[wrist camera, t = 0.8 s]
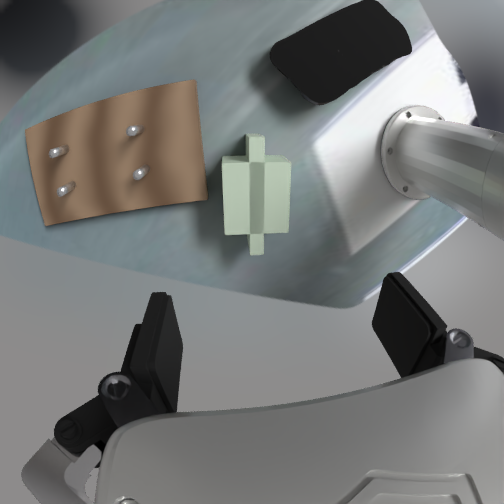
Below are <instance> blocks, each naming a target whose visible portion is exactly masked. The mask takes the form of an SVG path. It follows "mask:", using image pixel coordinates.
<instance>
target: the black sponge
mask: <svg viewBox="0 0 504 504" xmlns="http://www.w3.org/2000/svg"><path fill="white" fill-rule="evenodd" d="M411 52H412V46H411V42H410V39H409V36H408V34H407V31H406V29H405V28H404V26H403V25H402V24H401V23H400V22H399V21H398V20H397V19H396V18H394V17H393V16H392V15H391V14H390V13H389V12H388V11H387V10H386V9H385V8H384V7H383V6H382V5H381V4H380V3H379V2H378V1H376V0H362V1H360V2H357V3H355V4H352V5H350V6H348V7H345V8H343V9H341V10H339V11H337V12H335V13H333V14H330V15H328V16H326V17H324V18H322V19H320V20H318V21H317V22H315V23H313V24H311V25H309V26H307V27H305V28H303V29H302V30H300V31H298V32H296V33H295V34H293V35H291V36H289V37H287V38H285V39H282V40H280V41H278V42H276V43H275V44H274V46H273V47H272V50H271V52H270V58H271V61H272V63H273V64H274V66H276V67H277V68H278V69H279V70H280V71H281V72H282V73H283V74H284V75H285V76H286V77H287V78H289V79H290V80H291V81H292V83H293V84H294V85H295V86H296V87H297V88H298V89H299V91H300V92H301V94H302V96H303V97H304V98H305V99H306V100H308V101H309V102H311V103H313V104H316V105H324V104H327V103H329V102H331V101H333V100H335V99H337V98H338V97H340V96H341V95H343V94H344V93H345V92H347V91H348V90H349V89H351V88H353V87H354V86H356V85H357V84H359V83H360V82H361V81H362V80H364V79H365V78H367V77H369V76H370V75H371V74H373V73H375V72H376V71H378V70H380V69H381V68H383V67H384V66H387V65H389V64H390V63H391V62H393V61H394V60H396V59H398V58H400V57H402V56H406V55H409V54H410V53H411Z"/></svg>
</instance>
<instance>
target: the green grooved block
mask: <svg viewBox="0 0 504 504" xmlns="http://www.w3.org/2000/svg"><path fill="white" fill-rule="evenodd" d="M222 180H223V205H224V227H225V235H240V234H247V239H248V245H249V251H250V255H264V234H265V233H288V229H289V208H290V182H291V162H290V161H289V160H287V159H286V158H285V157H283V156H282V155H265V137H264V136H262V135H260V134H246V155H243V156H223V158H222Z"/></svg>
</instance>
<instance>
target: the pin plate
mask: <svg viewBox="0 0 504 504" xmlns="http://www.w3.org/2000/svg"><path fill="white" fill-rule="evenodd" d="M25 135H26V142H27V149H28V155H29V160H30V166H31V171H32V176H33V180H34V185H35V189H36V193H37V197H38V201H39V205H40V209H41V213H42V216H43V219H44V223H45V226H48V225H53V224H58V223H63V222H68V221H73V220H78V219H83V218H88V217H94V216H99V215H105V214H111V213H116V212H123V211H129V210H135V209H141V208H148V207H155V206H162V205H169V204H177V203H184V202H192V201H201V200H208V188H207V180H206V172H205V163H204V155H203V145H202V136H201V126H200V116H199V106H198V95H197V83H196V80H189V81H182V82H176V83H171V84H165V85H160V86H155V87H150V88H146V89H142V90H137V91H133V92H129V93H125V94H121V95H118V96H114V97H111V98H107V99H104V100H101V101H97V102H94V103H91V104H88V105H85V106H82V107H79V108H76V109H74V110H71V111H68V112H66V113H63V114H60V115H58V116H55V117H53V118H50V119H48V120H46V121H43V122H41V123H39V124H37V125H34V126H32V127H30V128H28V129H26V130H25Z"/></svg>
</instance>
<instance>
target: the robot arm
mask: <svg viewBox="0 0 504 504" xmlns="http://www.w3.org/2000/svg"><path fill="white" fill-rule="evenodd" d="M387 150H388V151H387ZM381 157H382V164H383V168H384V171H385V174H386V176H387V178H388V180H389V182H390V183H391V185H392V186H393V187H394V188H395V189H396V190H397V191H398V192H400V193H401V194H403V195H405V196H407V197H409V198H412V199H416V200H419V199H426V198H430V197H433V198H435V199H437V200H438V201H440V202H442V203H444V204H446V205H447V206H449V207H451V208H452V209H454V210H456V211H457V212H459V213H461V214H462V215H464V216H466V217H467V218H469V219H471V220H472V221H474V222H475V223H477V224H478V225H480V226H481V227H483V228H485V229H486V230H488V231H489V232H491V233H492V234H494V235H495V236H497V237H498V238H500V239H502V240H503V241H504V134H503V133H499V132H495V131H492V130H488V129H484V128H480V127H475V126H470V125H466V124H461V123H455V122H450V121H445V119H444V118H443V117H442V116H441V115H440V114H439V113H438V112H437V111H435V110H433V109H432V108H429V107H426V106H420V105H413V106H408V107H405V108H403V109H401V110H400V111H398V112H397V113H396V114H395V115H394V116H393V117H392V118H391V120H390V121H389V123H388V124H387V126H386V129H385V131H384V134H383V139H382V145H381ZM372 327H373V330H374V331H375V333H376V335H377V336H378V338H379V340H380V341H381V343H382V345H383V346H384V348H385V350H386V352H387V353H388V355H389V357H390V358H391V360H392V362H393V364H394V366H395V367H396V369H397V371H398V373H399V374H400V376H401V378H400V379H397V380H394V381H390V382H387V383H383V384H380V385H376V386H372V387H368V388H364V389H361V390H356V391H352V392H348V393H343V394H338V395H334V396H329V397H324V398H318V399H313V400H307V401H301V402H294V403H288V404H281V405H273V406H264V407H255V408H243V409H231V410H216V411H196V412H195V411H194V412H177V402H178V391H179V381H180V370H181V361H182V352H183V343H182V338H181V335H180V331H179V327H178V323H177V319H176V314H175V310H174V306H173V302H172V298H171V296H170V295H167V294H166V292H156V293H155V292H153V293H152V294H151V297H150V300H149V303H148V306H147V309H146V312H145V315H144V319H143V322H142V324H136V325H135V327H134V329H133V332H132V336H131V339H130V342H129V345H128V348H127V351H126V355H125V358H124V362H123V365H122V368H121V372H113V373H110V374H108V375H106V376H105V377H103V379H102V380H101V381H100V383H99V385H98V394H99V395H98V396H96V397H95V398H93V399H92V400H90V401H88V402H87V403H85V404H84V405H82V406H80V407H79V408H77V409H76V410H74V411H72V412H70V413H69V414H67V415H66V416H64V417H62V418H61V419H60V420H59V421H58V422H57V424H56V425H55V429H54V436H55V437H54V438H53V439H52V440H50V439H48V440H47V441H46V442H45V443H44V444H43V445H42V447H41V448H40V449H39V450H38V451H37V452H36V453H35V454H34V456H33V457H32V458H31V459H30V460H29V461H28V462H27V463H26V464H25V466H24V467H23V469H22V473H21V476H22V481H23V483H24V484H25V486H26V487H27V488H28V489H29V490H30V492H31V493H32V494H33V495H34V496H35V498H36V499H37V500H38V501H39V502H40V503H41V504H504V358H502V357H501V356H499V355H496V354H493V353H490V352H488V351H485V350H482V349H479V348H476V347H474V342H473V339H472V337H471V336H470V335H469V334H468V333H467V332H466V331H464V330H462V329H457V328H455V329H451V330H449V331H448V333H447V331H446V328H447V325H446V324H445V323H444V321H443V320H442V319H441V318H440V317H439V315H438V314H437V313H436V312H435V311H434V309H433V308H432V307H431V306H430V305H429V304H428V303H427V301H426V300H425V299H424V298H423V297H422V296H421V295H420V293H419V292H418V291H417V290H416V289H415V288H414V287H413V286H412V284H411V283H410V282H409V281H408V280H407V279H406V278H405V277H404V276H403V275H402V274H401V273H400V272H394V273H388V274H387V276H386V277H385V278H384V279H383V283H382V287H381V291H380V295H379V299H378V302H377V306H376V310H375V313H374V317H373V320H372ZM176 412H177V413H176ZM99 467H100V468H99ZM93 468H99V473H98V479H97V486H96V494H95V503H94V502H93V501H92V500H90V498H89V497H88V496H87V495H86V492H85V484H86V482H87V480H88V478H89V477H90V476H91V475H90V474H89V473H90V472H91V471H92V470H93ZM134 500H136V501H134Z"/></svg>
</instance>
